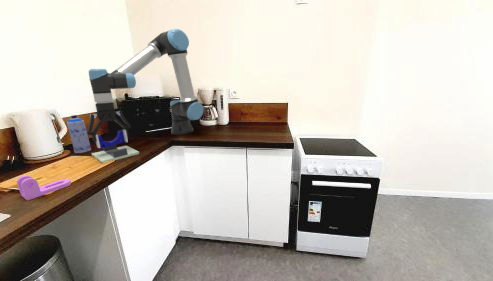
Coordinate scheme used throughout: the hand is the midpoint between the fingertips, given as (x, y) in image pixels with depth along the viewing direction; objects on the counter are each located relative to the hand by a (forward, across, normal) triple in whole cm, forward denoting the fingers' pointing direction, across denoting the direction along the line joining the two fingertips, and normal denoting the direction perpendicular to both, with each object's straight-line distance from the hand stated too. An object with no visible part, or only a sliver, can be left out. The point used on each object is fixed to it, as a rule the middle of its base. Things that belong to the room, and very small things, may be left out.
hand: (113, 144), depth 111 cm
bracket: (+6, +29, +23) cm, 37 cm away
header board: (+6, 0, 0) cm, 6 cm away
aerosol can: (+6, +9, -24) cm, 26 cm away
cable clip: (0, 0, -2) cm, 2 cm away
